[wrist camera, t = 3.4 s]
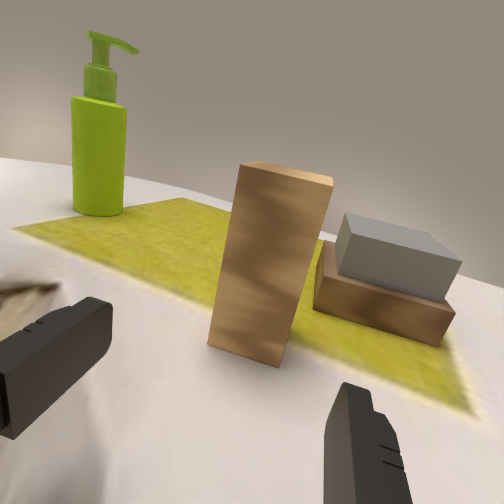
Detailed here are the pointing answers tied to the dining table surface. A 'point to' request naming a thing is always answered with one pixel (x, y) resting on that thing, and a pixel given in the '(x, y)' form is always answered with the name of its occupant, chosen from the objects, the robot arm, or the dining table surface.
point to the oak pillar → (267, 258)
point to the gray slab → (395, 258)
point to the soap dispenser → (99, 134)
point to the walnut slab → (378, 304)
